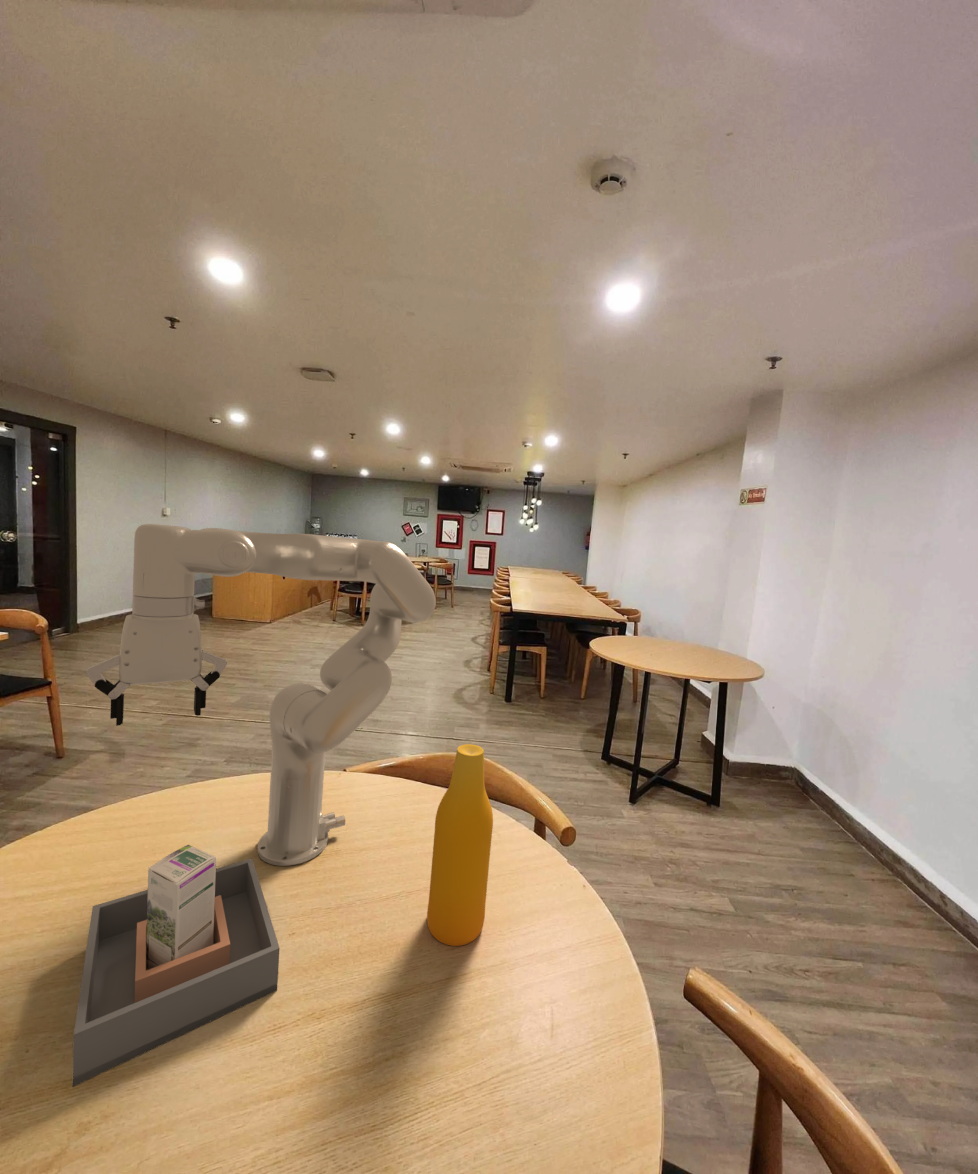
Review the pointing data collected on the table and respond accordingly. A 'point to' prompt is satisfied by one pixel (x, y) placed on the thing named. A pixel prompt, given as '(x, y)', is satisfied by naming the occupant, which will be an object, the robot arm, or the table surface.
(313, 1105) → the table surface
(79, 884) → the table surface
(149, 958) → the syrup box
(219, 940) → the walled box
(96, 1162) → the table surface
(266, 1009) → the table surface
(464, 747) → the beer bottle
